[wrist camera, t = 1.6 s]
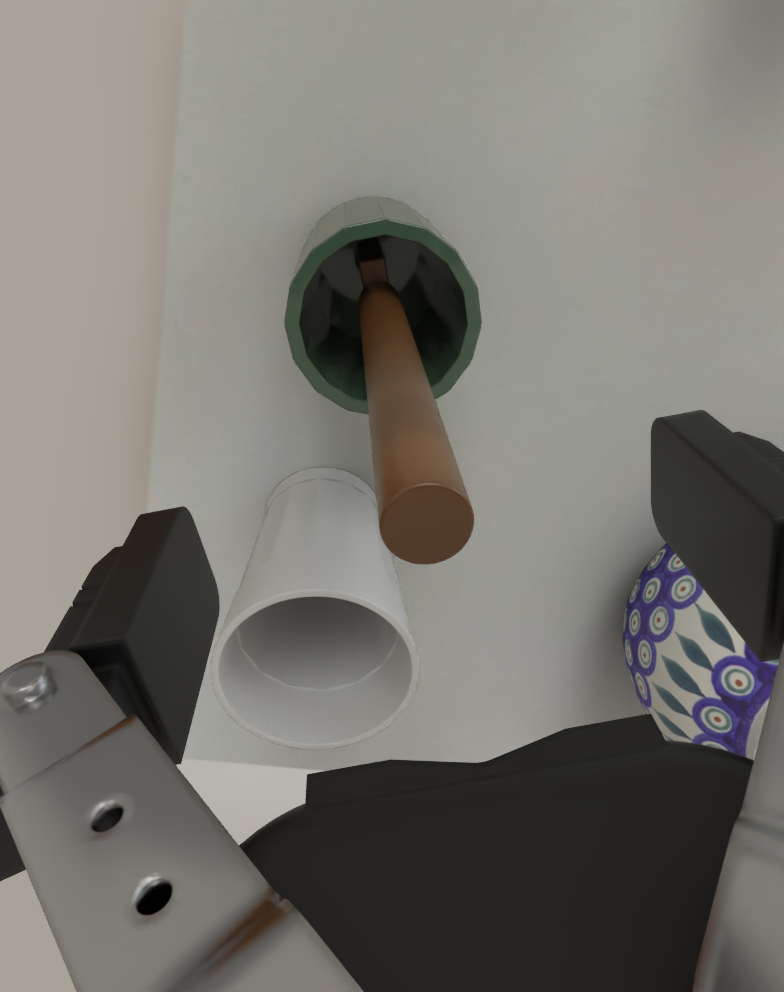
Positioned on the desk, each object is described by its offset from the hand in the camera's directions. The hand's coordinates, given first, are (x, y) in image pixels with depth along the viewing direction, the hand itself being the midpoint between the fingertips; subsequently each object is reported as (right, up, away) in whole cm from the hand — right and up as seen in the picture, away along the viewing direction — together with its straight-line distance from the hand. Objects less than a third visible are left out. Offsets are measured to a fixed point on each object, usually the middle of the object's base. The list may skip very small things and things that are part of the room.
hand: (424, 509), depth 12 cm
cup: (-4, -1, +25) cm, 26 cm away
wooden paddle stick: (-1, +10, +19) cm, 22 cm away
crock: (-1, +10, +20) cm, 22 cm away
